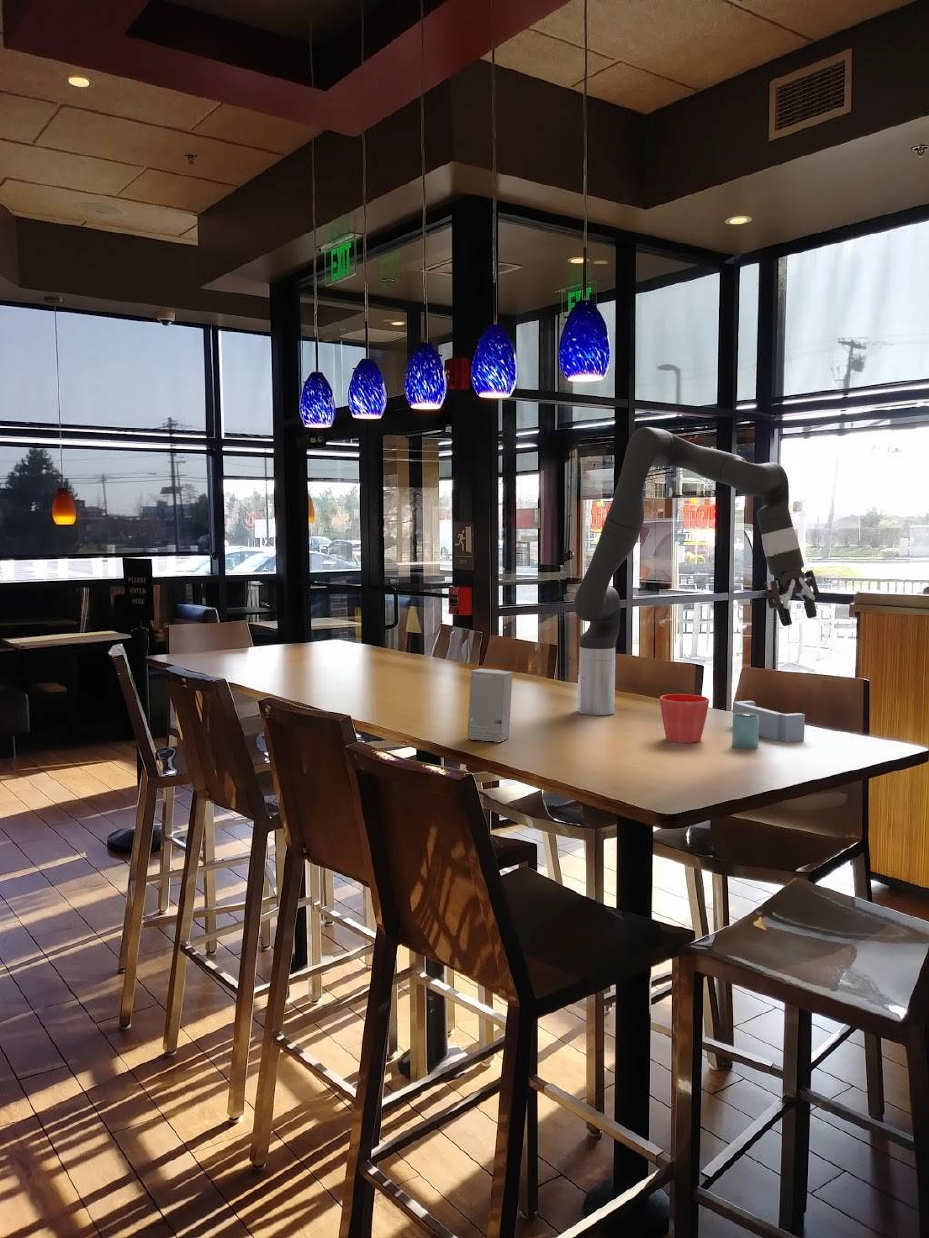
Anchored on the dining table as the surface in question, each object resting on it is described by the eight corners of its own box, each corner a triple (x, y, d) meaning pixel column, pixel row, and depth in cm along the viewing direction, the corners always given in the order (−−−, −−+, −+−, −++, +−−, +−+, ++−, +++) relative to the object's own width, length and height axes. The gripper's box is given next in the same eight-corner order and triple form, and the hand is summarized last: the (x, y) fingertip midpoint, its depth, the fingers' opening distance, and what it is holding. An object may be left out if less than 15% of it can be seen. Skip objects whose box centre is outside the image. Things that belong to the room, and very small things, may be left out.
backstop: (782, 742, 226) (783, 716, 225) (729, 726, 244) (729, 701, 244) (804, 740, 228) (804, 714, 227) (749, 724, 247) (750, 700, 246)
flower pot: (709, 745, 222) (710, 702, 221) (658, 743, 224) (659, 700, 223) (707, 736, 232) (708, 694, 232) (659, 734, 235) (660, 693, 234)
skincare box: (467, 740, 226) (467, 671, 225) (477, 734, 233) (478, 667, 231) (502, 743, 223) (503, 673, 222) (512, 737, 230) (513, 669, 228)
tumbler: (735, 749, 219) (736, 716, 218) (728, 743, 224) (729, 712, 224) (761, 749, 219) (762, 716, 218) (753, 743, 224) (754, 712, 224)
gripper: (789, 548, 231) (807, 617, 230) (748, 559, 223) (765, 630, 223) (816, 542, 224) (834, 612, 224) (774, 552, 217) (792, 625, 217)
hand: (799, 621), depth 224 cm, fingers open, 8 cm apart
